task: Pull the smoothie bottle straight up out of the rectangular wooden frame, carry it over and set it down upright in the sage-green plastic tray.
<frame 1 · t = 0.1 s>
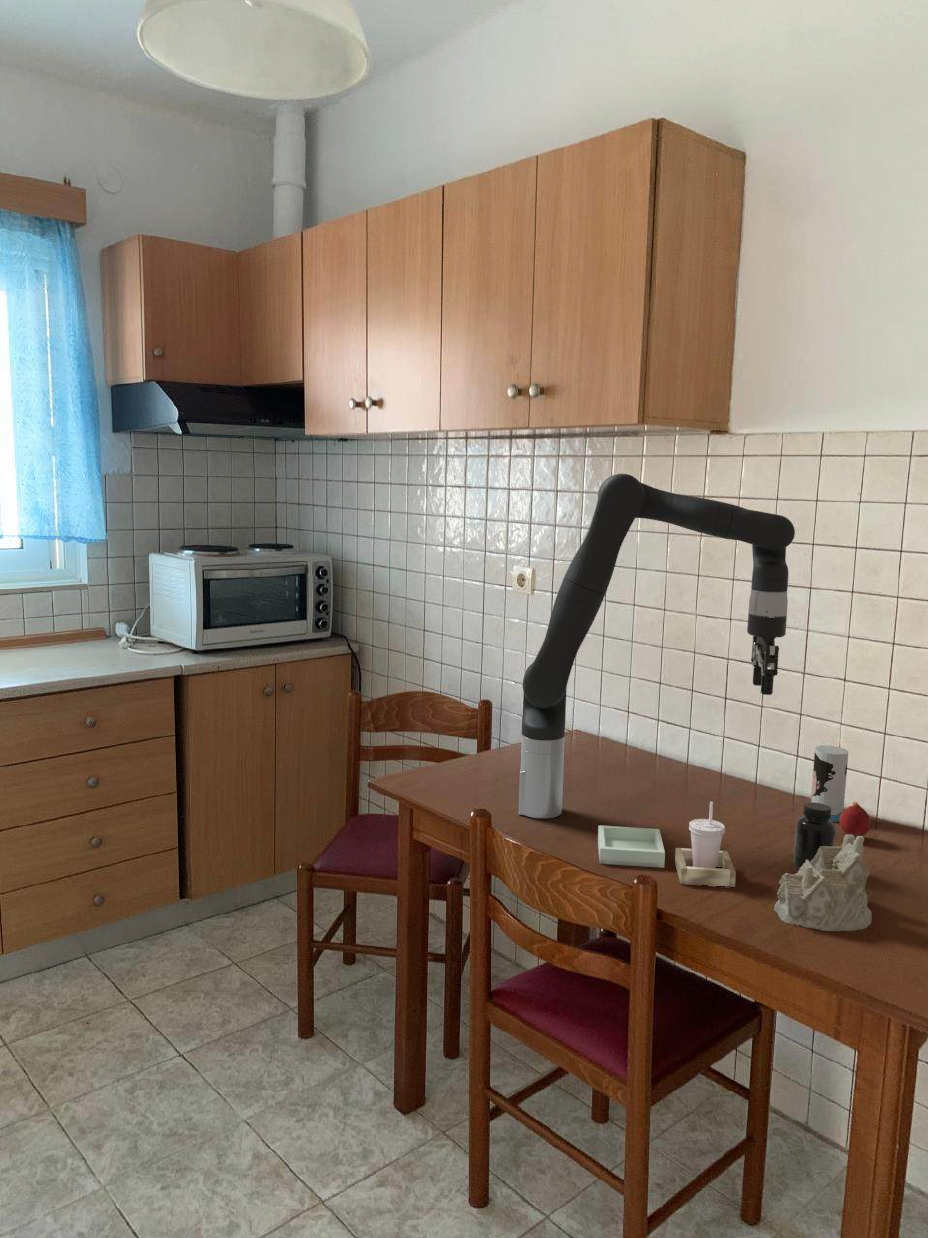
hand: (762, 689, 192), 29 cm above the table, tool pointing down, fingers open, 8 cm apart
onion: (853, 840, 189), on the table
cup: (826, 817, 202), on the table
ceramic cottage: (820, 910, 158), on the table
smoothie: (703, 876, 170), resting in rectangular wooden frame
tray: (629, 853, 180), on the table
rectangular wooden frame: (703, 875, 170), on the table
supplement bottle: (812, 868, 175), on the table
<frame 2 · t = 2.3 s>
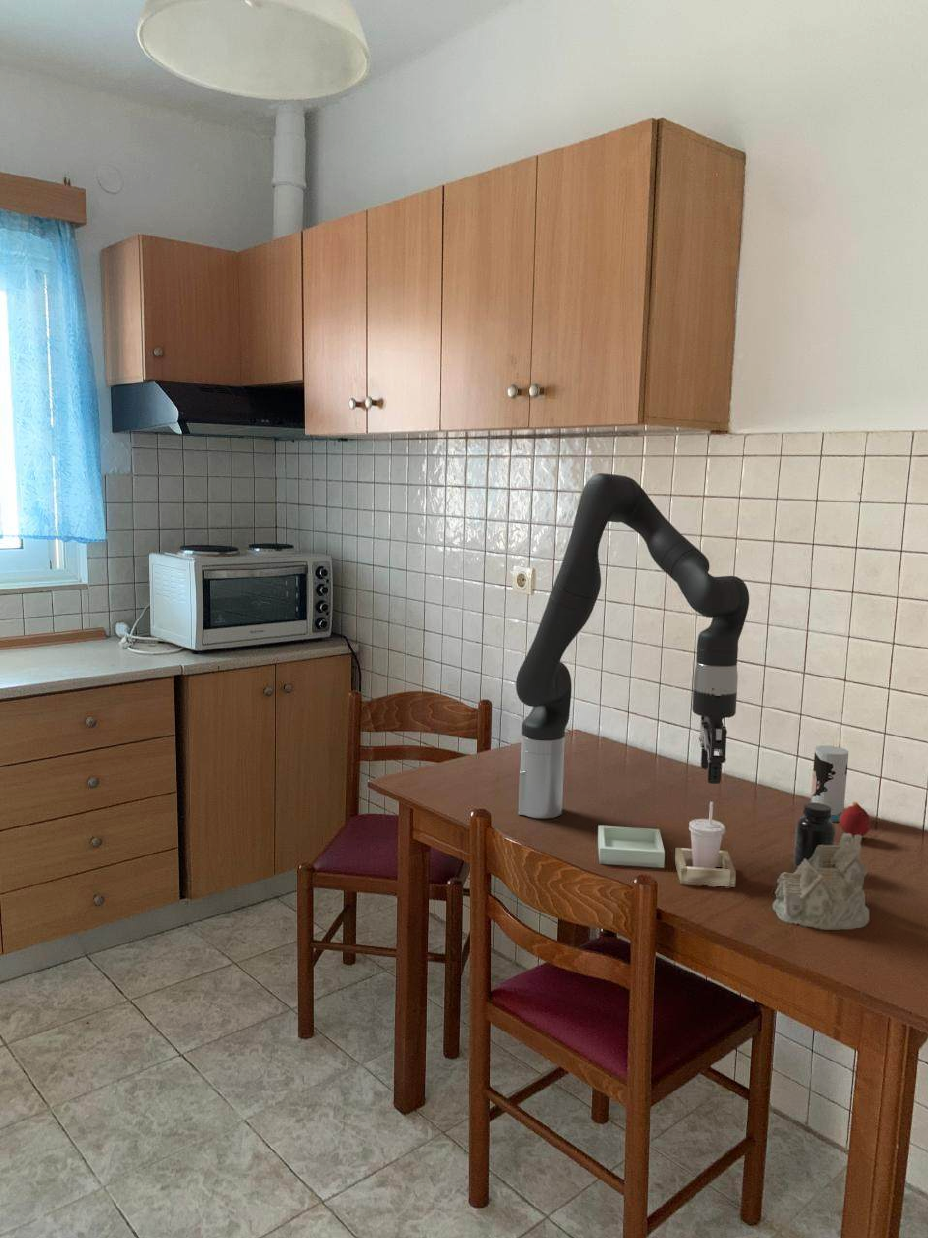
hand: (710, 775, 168), 19 cm above the table, tool pointing down, fingers open, 8 cm apart
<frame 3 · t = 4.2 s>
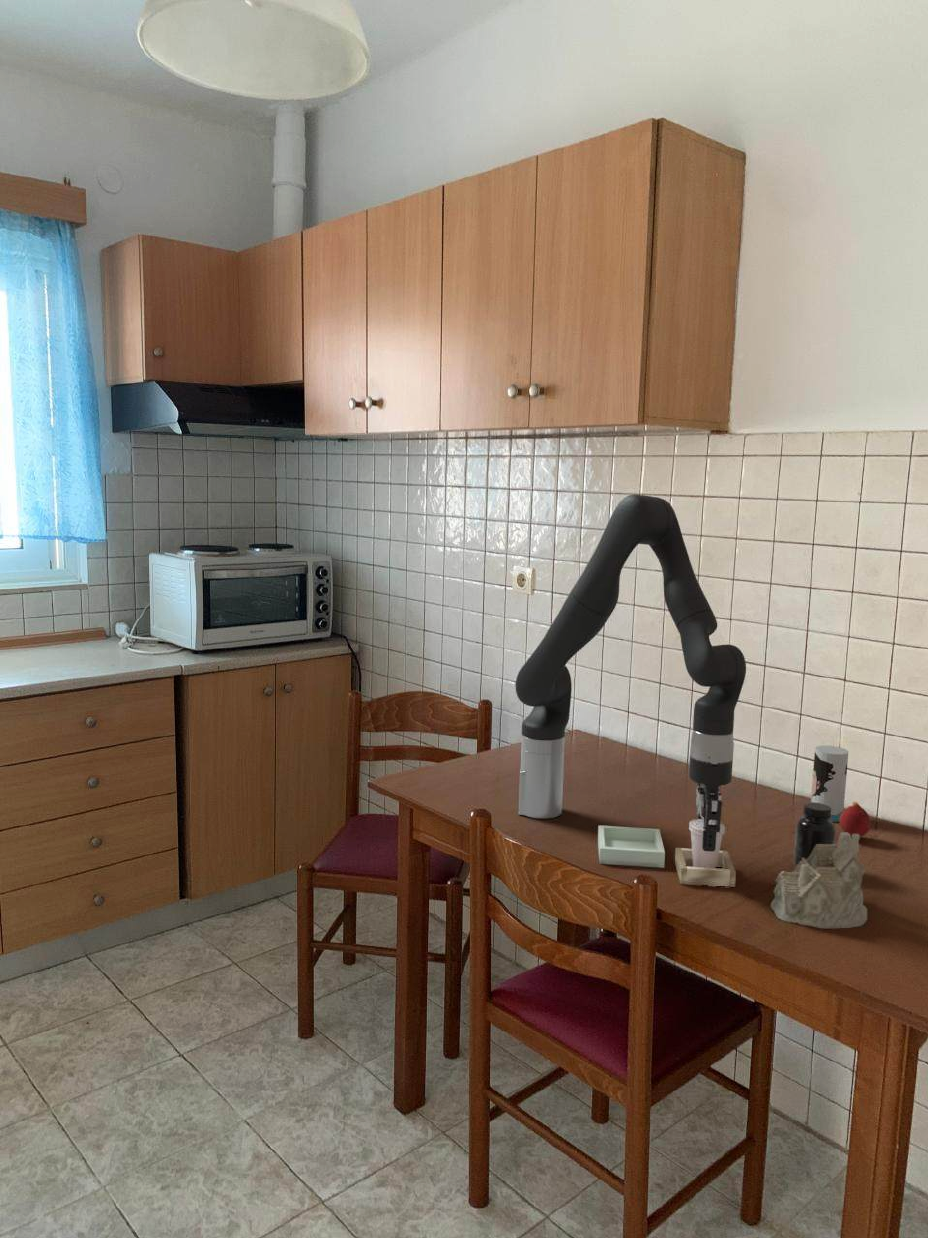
hand: (705, 843, 169), 6 cm above the table, tool pointing down, fingers closed on smoothie, 6 cm apart
smoothie: (703, 876, 170), resting in rectangular wooden frame, touching gripper
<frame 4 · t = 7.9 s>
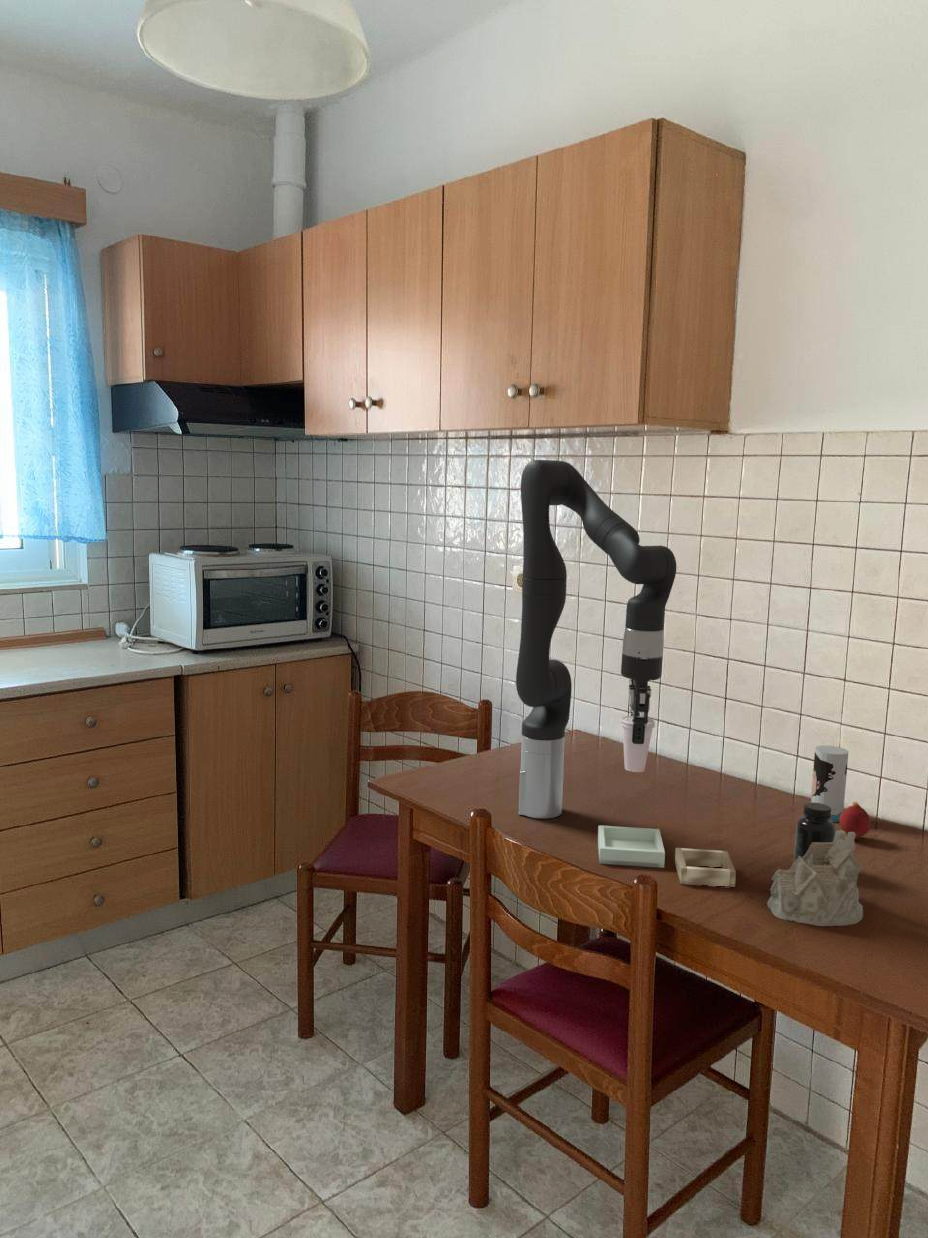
hand: (636, 737, 176), 23 cm above the table, tool pointing down, fingers closed on smoothie, 6 cm apart
smoothie: (634, 770, 177), point 17 cm above the table, touching gripper
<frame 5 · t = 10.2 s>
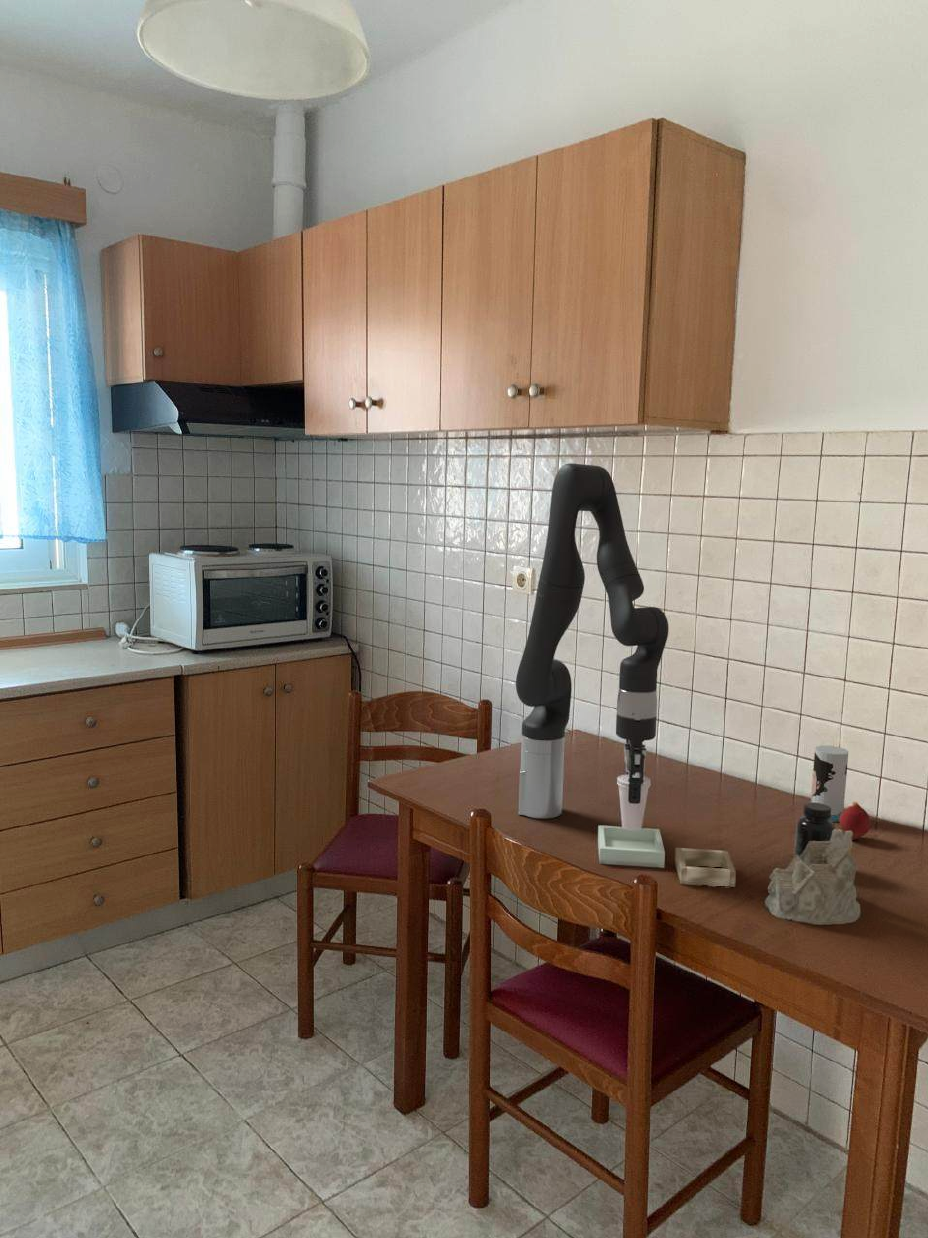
hand: (632, 796, 178), 11 cm above the table, tool pointing down, fingers closed on smoothie, 6 cm apart
smoothie: (631, 828, 179), point 5 cm above the table, touching gripper
when the fingers open (9 cm above the table, at t = 11.9 s): smoothie drops 2 cm, resting on tray.
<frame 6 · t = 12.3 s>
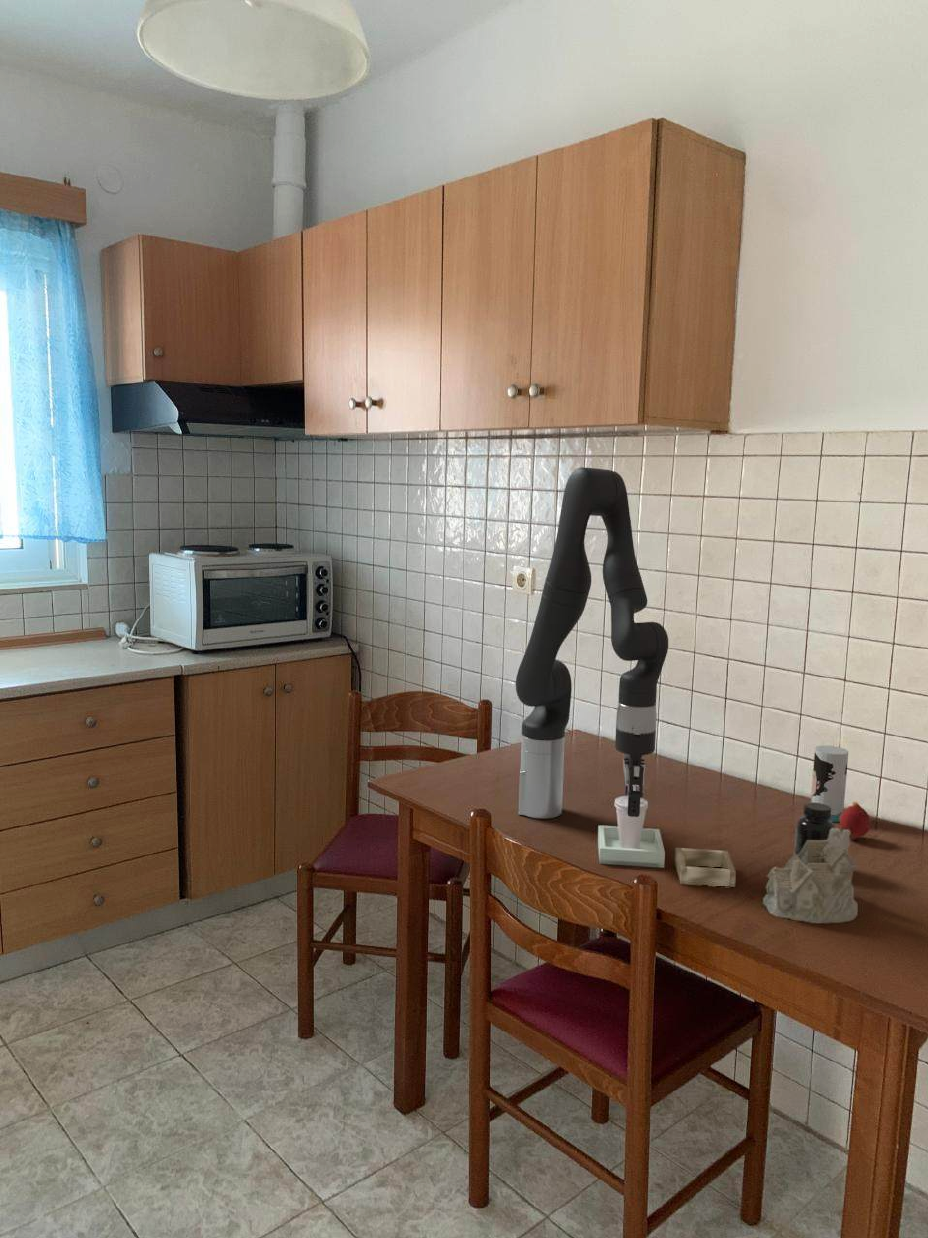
hand: (631, 808, 178), 9 cm above the table, tool pointing down, fingers open, 8 cm apart
smoothie: (629, 849, 180), point 1 cm above the table, touching tray
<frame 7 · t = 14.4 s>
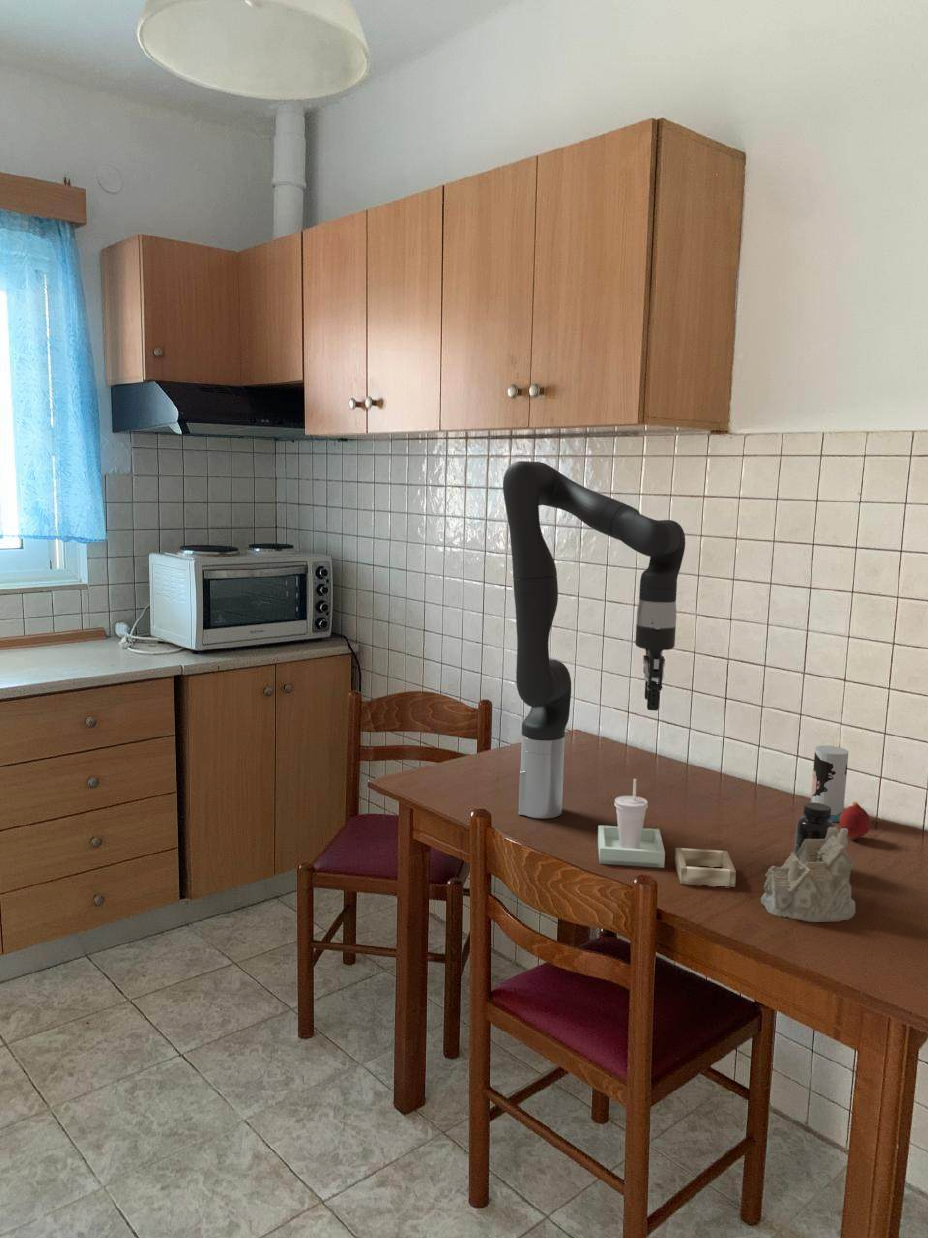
hand: (651, 704, 182), 28 cm above the table, tool pointing down, fingers open, 8 cm apart
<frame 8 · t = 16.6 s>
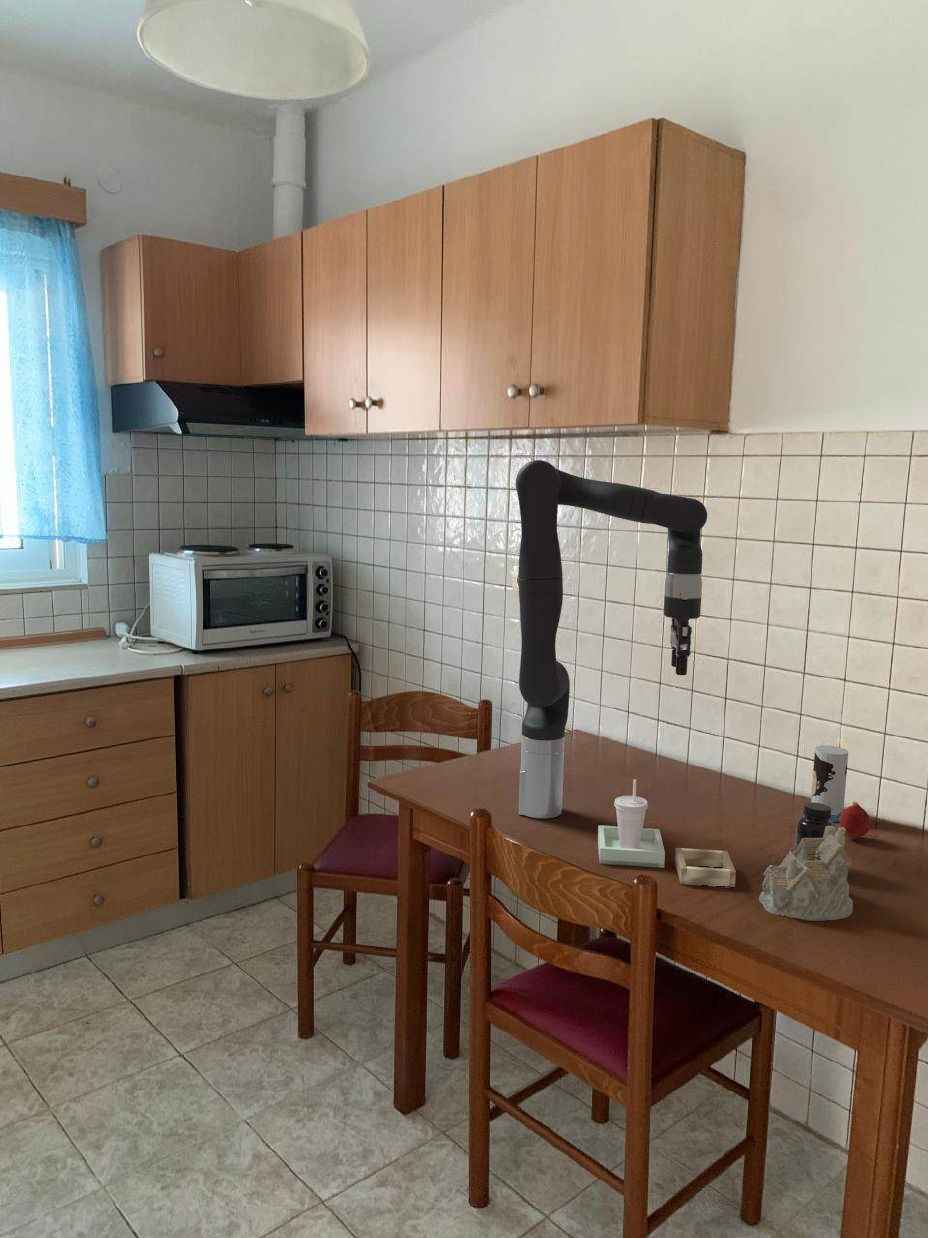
hand: (678, 670, 195), 32 cm above the table, tool pointing down, fingers open, 8 cm apart
at the end: smoothie 0.2 cm off-centre on the tray, point 0.6 cm above the tray's base; smoothie tilted 1°; the gripper is holding nothing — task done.
